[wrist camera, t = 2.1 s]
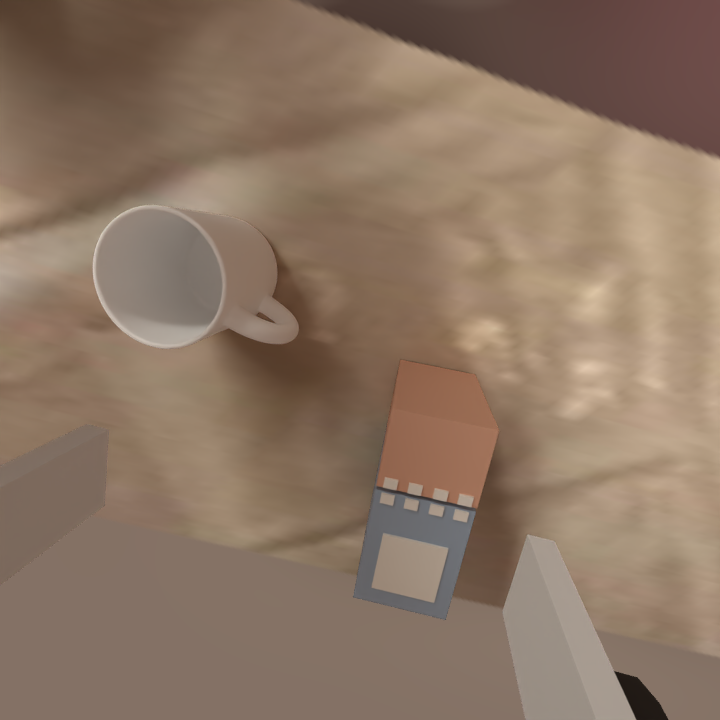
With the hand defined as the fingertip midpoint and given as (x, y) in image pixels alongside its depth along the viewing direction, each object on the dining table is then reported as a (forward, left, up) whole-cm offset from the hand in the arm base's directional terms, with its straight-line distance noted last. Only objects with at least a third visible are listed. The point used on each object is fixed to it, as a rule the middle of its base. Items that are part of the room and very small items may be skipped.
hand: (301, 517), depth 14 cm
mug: (-3, -11, -23) cm, 26 cm away
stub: (+3, +5, -23) cm, 24 cm away
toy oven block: (+10, +5, -23) cm, 26 cm away
